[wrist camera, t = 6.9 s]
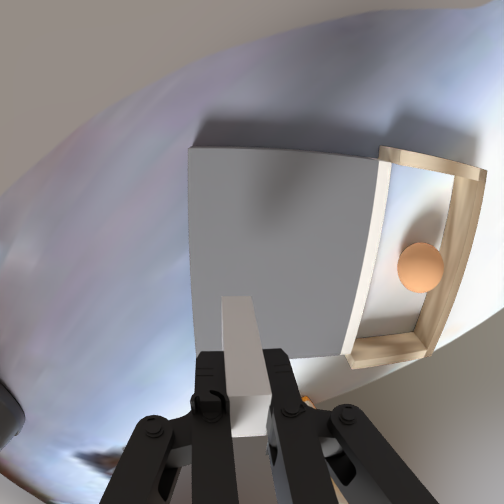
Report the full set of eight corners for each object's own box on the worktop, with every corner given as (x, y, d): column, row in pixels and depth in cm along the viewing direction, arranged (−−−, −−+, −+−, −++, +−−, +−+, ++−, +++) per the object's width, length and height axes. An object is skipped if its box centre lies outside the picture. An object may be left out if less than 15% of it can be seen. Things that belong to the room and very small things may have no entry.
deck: (198, 344, 25) (196, 360, 23) (191, 146, 19) (188, 148, 17) (343, 339, 26) (350, 353, 24) (378, 158, 20) (391, 162, 18)
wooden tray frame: (341, 347, 26) (351, 369, 24) (379, 145, 19) (401, 149, 17) (417, 338, 27) (431, 356, 24) (464, 163, 20) (487, 170, 17)
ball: (382, 280, 23) (412, 304, 20) (394, 235, 22) (427, 254, 18) (415, 277, 24) (444, 298, 21) (426, 235, 23) (458, 253, 19)
